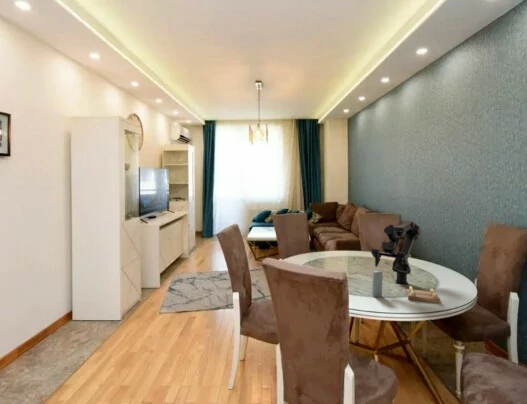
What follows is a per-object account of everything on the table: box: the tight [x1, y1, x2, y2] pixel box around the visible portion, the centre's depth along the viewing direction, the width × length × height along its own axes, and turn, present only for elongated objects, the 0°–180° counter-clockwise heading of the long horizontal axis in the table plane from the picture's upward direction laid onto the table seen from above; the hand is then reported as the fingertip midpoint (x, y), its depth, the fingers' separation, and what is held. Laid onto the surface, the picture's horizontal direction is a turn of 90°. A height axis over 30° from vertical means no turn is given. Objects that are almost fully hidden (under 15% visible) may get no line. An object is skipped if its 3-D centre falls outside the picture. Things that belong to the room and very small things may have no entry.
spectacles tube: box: [371, 269, 384, 299], centre depth 169 cm, size 5×5×13 cm
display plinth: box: [405, 285, 440, 304], centre depth 167 cm, size 12×14×4 cm
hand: (384, 268), depth 174 cm, fingers open, 9 cm apart
